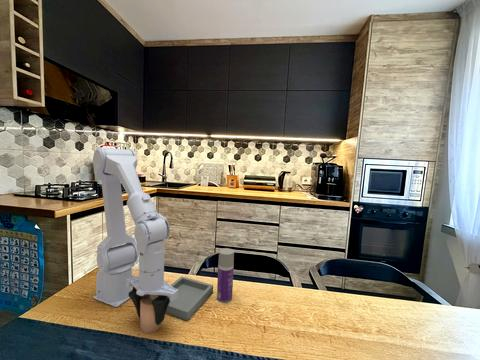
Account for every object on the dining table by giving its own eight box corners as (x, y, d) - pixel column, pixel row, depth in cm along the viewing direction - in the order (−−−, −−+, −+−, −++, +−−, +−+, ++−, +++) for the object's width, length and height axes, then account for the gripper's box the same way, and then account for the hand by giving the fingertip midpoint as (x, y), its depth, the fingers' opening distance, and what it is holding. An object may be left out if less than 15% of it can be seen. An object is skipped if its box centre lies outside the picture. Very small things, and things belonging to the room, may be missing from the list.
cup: (135, 329, 55) (135, 302, 54) (150, 316, 60) (150, 291, 59) (151, 335, 53) (151, 308, 53) (165, 321, 58) (166, 296, 57)
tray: (151, 308, 63) (151, 299, 63) (181, 283, 76) (181, 276, 76) (187, 321, 59) (187, 312, 58) (213, 292, 72) (213, 285, 71)
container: (229, 304, 66) (232, 255, 65) (214, 301, 67) (216, 253, 66) (233, 294, 71) (235, 249, 69) (219, 292, 72) (221, 247, 70)
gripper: (115, 267, 54) (115, 320, 55) (164, 282, 49) (163, 340, 50) (138, 256, 61) (138, 303, 62) (183, 268, 55) (182, 319, 57)
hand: (151, 318), depth 56 cm, fingers closed on cup, 5 cm apart
